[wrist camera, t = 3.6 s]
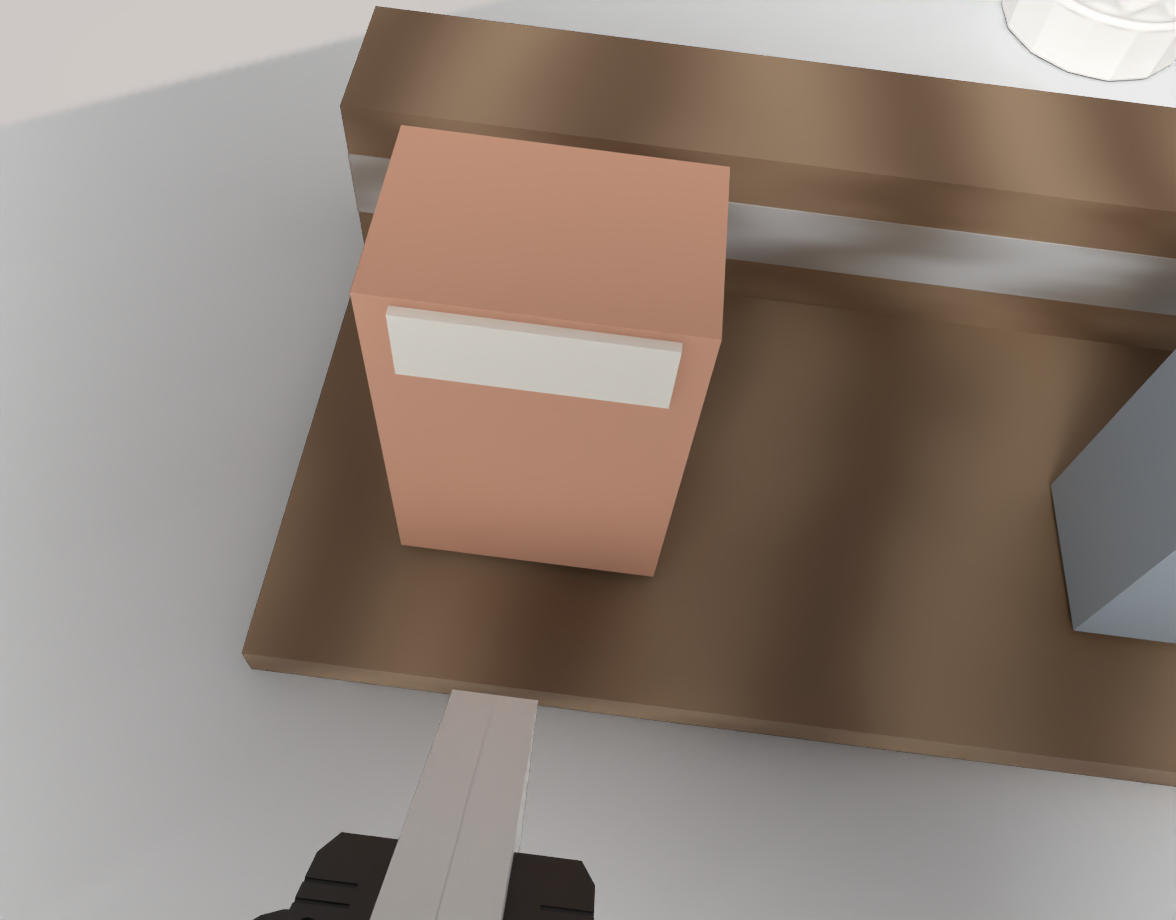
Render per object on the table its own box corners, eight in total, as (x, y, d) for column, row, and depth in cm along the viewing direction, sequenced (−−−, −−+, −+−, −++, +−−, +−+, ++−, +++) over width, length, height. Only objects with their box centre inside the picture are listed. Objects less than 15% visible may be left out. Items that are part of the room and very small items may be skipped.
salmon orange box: (399, 552, 24) (347, 302, 16) (433, 406, 26) (400, 124, 18) (652, 584, 24) (721, 349, 16) (664, 436, 26) (730, 166, 18)
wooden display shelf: (251, 668, 23) (178, 554, 18) (397, 177, 32) (375, 6, 27) (1451, 821, 23) (1716, 750, 18) (1275, 289, 32) (1421, 139, 27)
